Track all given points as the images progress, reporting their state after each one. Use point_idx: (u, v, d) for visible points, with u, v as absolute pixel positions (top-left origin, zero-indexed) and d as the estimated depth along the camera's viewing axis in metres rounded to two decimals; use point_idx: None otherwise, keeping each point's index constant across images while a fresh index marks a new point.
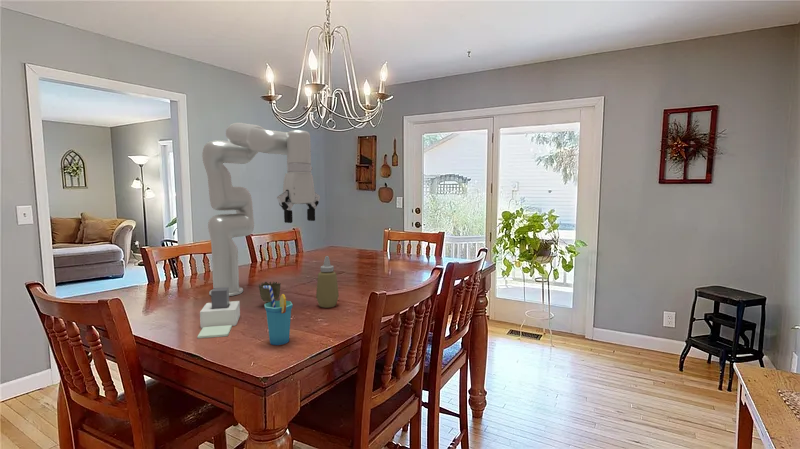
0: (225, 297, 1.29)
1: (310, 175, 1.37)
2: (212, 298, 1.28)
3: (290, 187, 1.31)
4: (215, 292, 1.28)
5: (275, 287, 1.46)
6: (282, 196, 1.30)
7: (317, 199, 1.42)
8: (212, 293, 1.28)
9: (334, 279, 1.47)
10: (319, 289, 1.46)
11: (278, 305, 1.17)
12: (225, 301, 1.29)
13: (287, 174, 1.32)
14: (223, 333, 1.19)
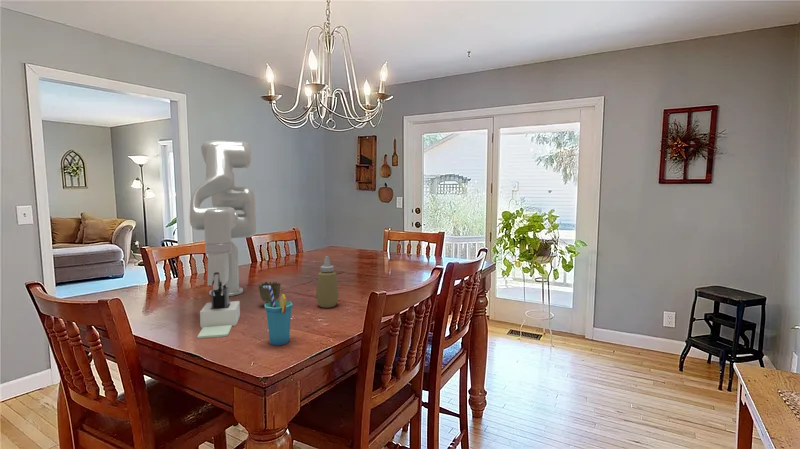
0: (225, 297, 1.29)
1: None
2: (212, 298, 1.28)
3: (220, 269, 1.25)
4: None
5: (275, 287, 1.46)
6: (218, 285, 1.24)
7: None
8: (212, 293, 1.28)
9: (334, 279, 1.47)
10: (319, 289, 1.46)
11: (278, 305, 1.17)
12: (225, 301, 1.29)
13: (214, 256, 1.25)
14: (223, 333, 1.19)
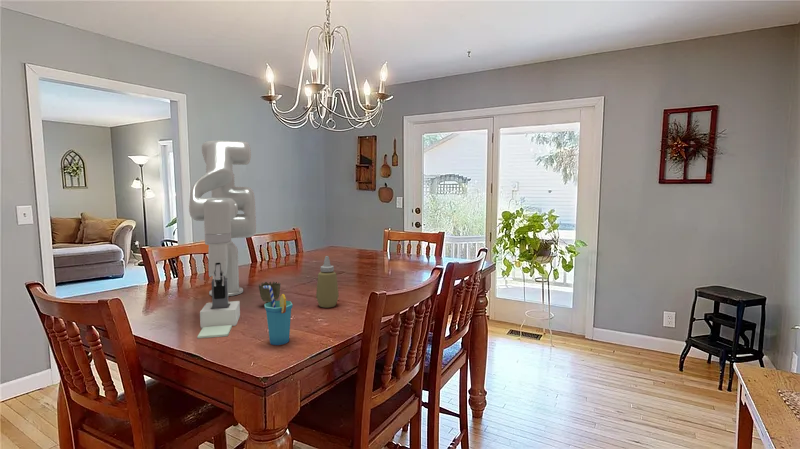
0: (226, 288, 1.29)
1: None
2: (212, 289, 1.28)
3: (222, 260, 1.25)
4: None
5: (275, 287, 1.46)
6: (220, 275, 1.24)
7: None
8: (212, 284, 1.28)
9: (334, 279, 1.47)
10: (319, 289, 1.46)
11: (278, 305, 1.17)
12: (226, 292, 1.29)
13: (215, 246, 1.25)
14: (223, 333, 1.19)
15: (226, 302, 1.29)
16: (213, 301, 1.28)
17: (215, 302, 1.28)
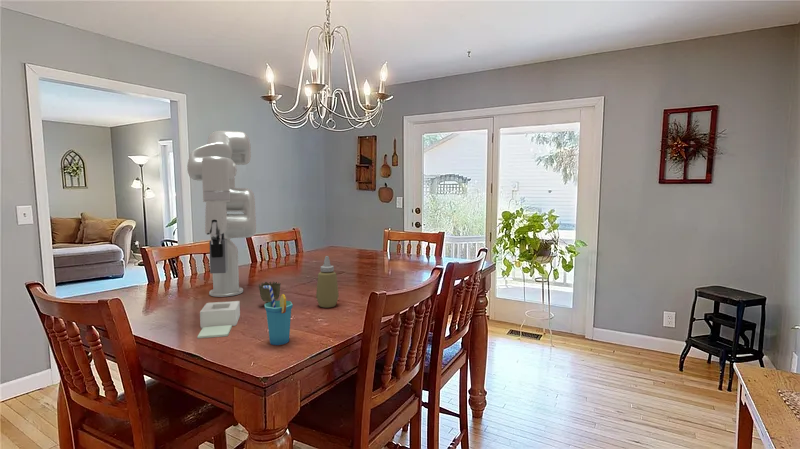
0: (223, 248, 1.27)
1: None
2: (210, 248, 1.26)
3: (218, 217, 1.24)
4: None
5: (275, 287, 1.46)
6: (216, 232, 1.23)
7: None
8: (210, 243, 1.26)
9: (334, 279, 1.47)
10: (319, 289, 1.46)
11: (278, 305, 1.17)
12: (223, 252, 1.27)
13: (212, 203, 1.23)
14: (223, 333, 1.19)
15: (224, 262, 1.28)
16: (211, 261, 1.27)
17: (213, 262, 1.27)
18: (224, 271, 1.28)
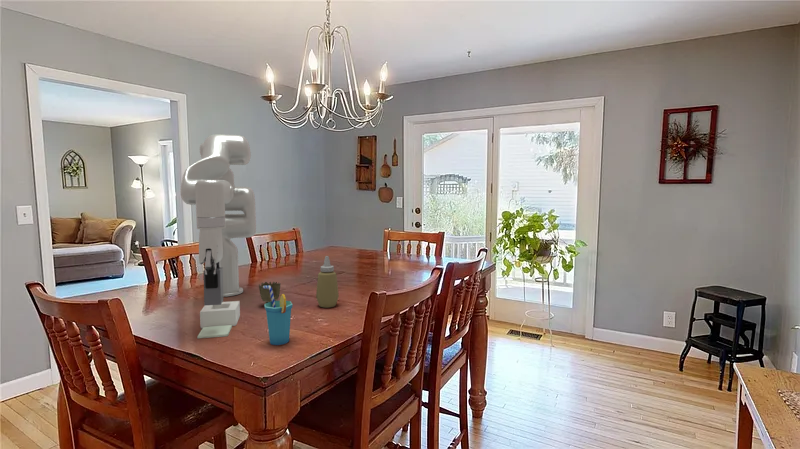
0: (219, 277, 1.18)
1: None
2: (204, 278, 1.17)
3: (213, 245, 1.15)
4: None
5: (275, 287, 1.46)
6: (210, 262, 1.14)
7: None
8: (204, 273, 1.17)
9: (334, 279, 1.47)
10: (319, 289, 1.46)
11: (278, 305, 1.17)
12: (218, 282, 1.18)
13: (206, 230, 1.14)
14: (223, 333, 1.19)
15: (219, 293, 1.19)
16: (205, 292, 1.18)
17: (207, 293, 1.18)
18: (219, 303, 1.19)
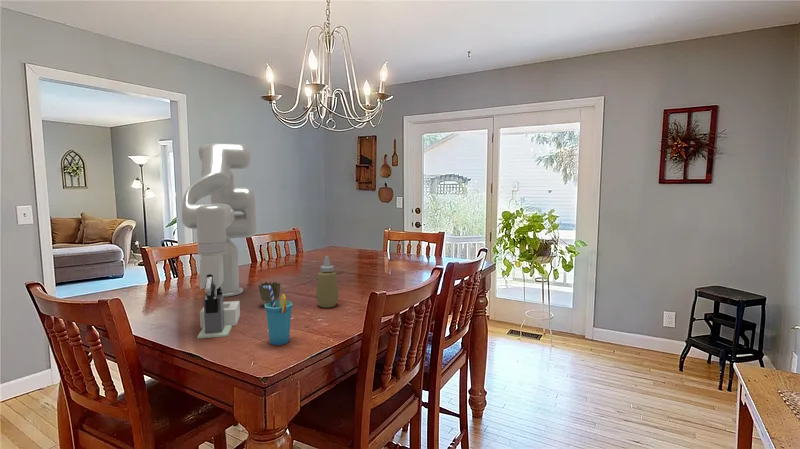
0: (219, 306, 1.19)
1: None
2: None
3: (214, 271, 1.16)
4: None
5: (275, 287, 1.46)
6: (210, 286, 1.14)
7: None
8: None
9: (334, 279, 1.47)
10: (319, 289, 1.46)
11: (278, 305, 1.17)
12: (219, 310, 1.19)
13: (207, 257, 1.15)
14: (223, 333, 1.19)
15: (219, 321, 1.20)
16: (206, 320, 1.19)
17: (208, 321, 1.19)
18: (220, 330, 1.20)
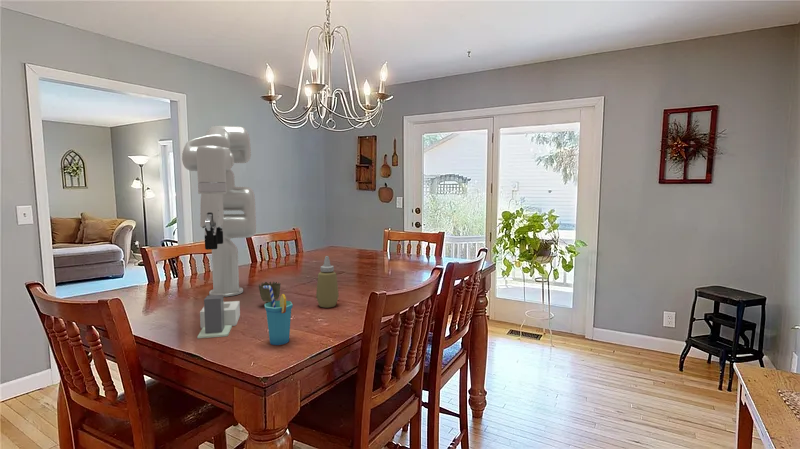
0: (219, 306, 1.19)
1: (222, 194, 1.25)
2: (205, 307, 1.18)
3: (214, 209, 1.18)
4: (208, 300, 1.18)
5: (275, 287, 1.46)
6: (210, 220, 1.15)
7: None
8: (205, 301, 1.18)
9: (334, 279, 1.47)
10: (319, 289, 1.46)
11: (278, 305, 1.17)
12: (219, 310, 1.19)
13: (207, 195, 1.17)
14: (223, 333, 1.19)
15: (220, 321, 1.20)
16: (206, 320, 1.19)
17: (208, 321, 1.19)
18: (220, 330, 1.20)
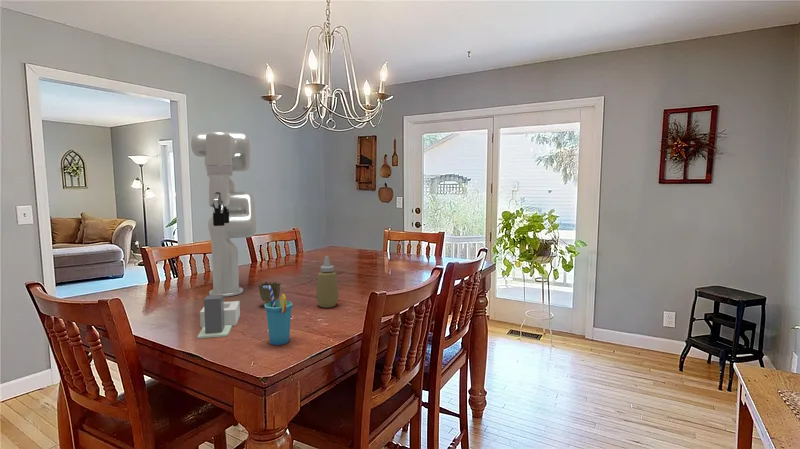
0: (219, 306, 1.19)
1: None
2: (205, 307, 1.18)
3: (222, 190, 1.30)
4: (208, 300, 1.18)
5: (275, 287, 1.46)
6: (218, 199, 1.27)
7: None
8: (205, 301, 1.18)
9: (334, 279, 1.47)
10: (319, 289, 1.46)
11: (278, 305, 1.17)
12: (219, 310, 1.19)
13: (216, 176, 1.29)
14: (223, 333, 1.19)
15: (220, 321, 1.20)
16: (206, 320, 1.19)
17: (208, 321, 1.19)
18: (220, 330, 1.20)
